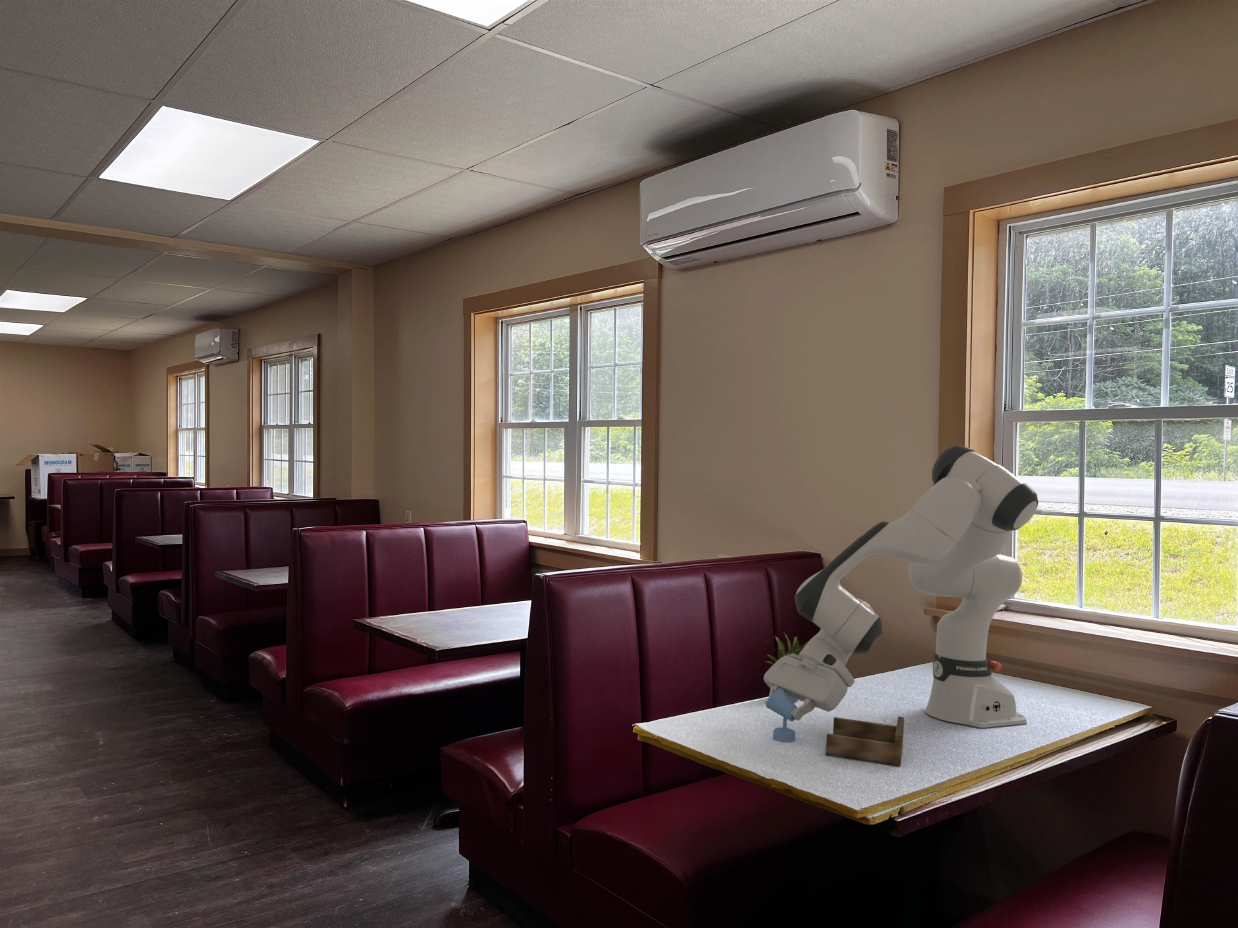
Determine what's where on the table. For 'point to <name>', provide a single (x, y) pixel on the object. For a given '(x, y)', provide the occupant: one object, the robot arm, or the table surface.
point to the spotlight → (782, 707)
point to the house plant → (783, 653)
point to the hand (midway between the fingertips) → (781, 712)
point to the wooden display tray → (866, 741)
